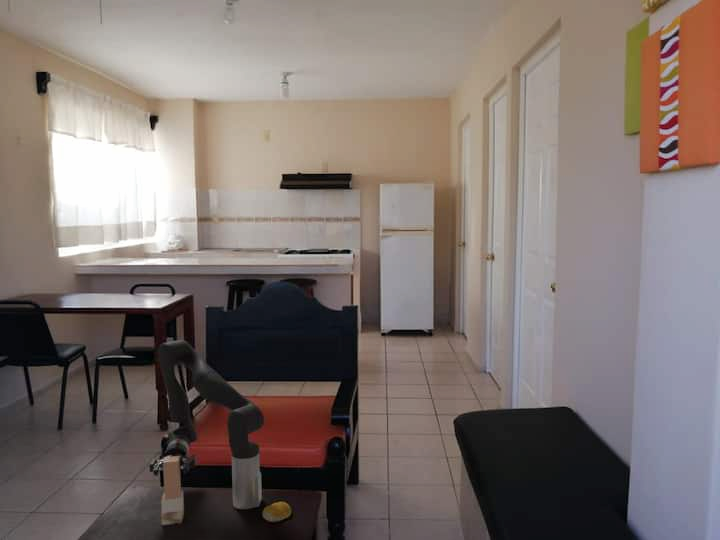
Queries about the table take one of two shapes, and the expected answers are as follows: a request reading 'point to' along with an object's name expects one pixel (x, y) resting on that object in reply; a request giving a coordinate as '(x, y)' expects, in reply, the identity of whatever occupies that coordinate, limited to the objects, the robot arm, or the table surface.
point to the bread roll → (276, 512)
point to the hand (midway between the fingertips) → (170, 471)
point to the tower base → (172, 517)
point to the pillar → (172, 477)
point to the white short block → (172, 504)
